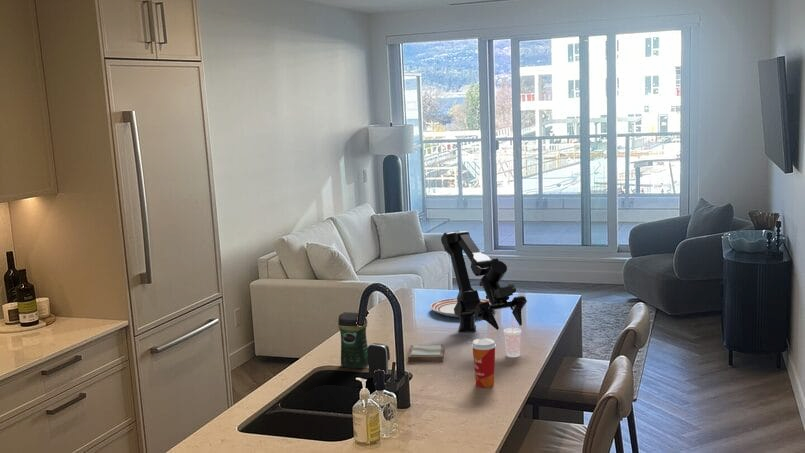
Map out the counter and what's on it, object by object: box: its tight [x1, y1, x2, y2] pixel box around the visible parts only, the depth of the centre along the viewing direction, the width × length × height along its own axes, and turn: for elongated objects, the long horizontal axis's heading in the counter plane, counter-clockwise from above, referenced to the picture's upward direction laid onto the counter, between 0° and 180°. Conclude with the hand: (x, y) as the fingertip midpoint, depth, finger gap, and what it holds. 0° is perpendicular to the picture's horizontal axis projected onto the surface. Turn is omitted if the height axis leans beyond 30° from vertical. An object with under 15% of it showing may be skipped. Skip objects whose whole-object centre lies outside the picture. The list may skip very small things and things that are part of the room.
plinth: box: [407, 344, 445, 363], centre depth 274 cm, size 12×12×2 cm
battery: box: [367, 342, 391, 379], centre depth 254 cm, size 7×4×11 cm, turn 63°
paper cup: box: [471, 337, 497, 389], centre depth 244 cm, size 8×8×14 cm
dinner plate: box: [429, 297, 491, 318], centre depth 326 cm, size 28×27×3 cm
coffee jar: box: [337, 311, 369, 369], centre depth 267 cm, size 10×8×19 cm
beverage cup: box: [503, 315, 522, 358], centre depth 270 cm, size 6×6×14 cm
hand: (509, 327), depth 271 cm, fingers open, 9 cm apart
